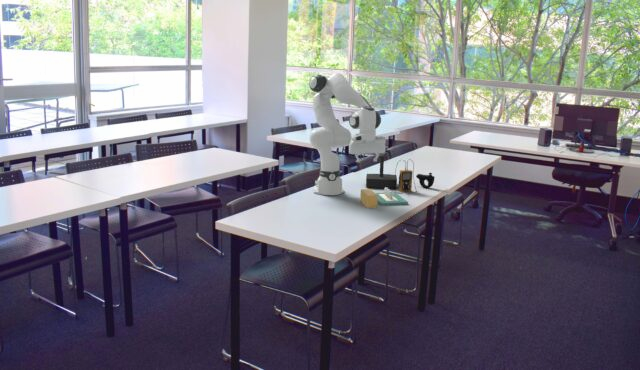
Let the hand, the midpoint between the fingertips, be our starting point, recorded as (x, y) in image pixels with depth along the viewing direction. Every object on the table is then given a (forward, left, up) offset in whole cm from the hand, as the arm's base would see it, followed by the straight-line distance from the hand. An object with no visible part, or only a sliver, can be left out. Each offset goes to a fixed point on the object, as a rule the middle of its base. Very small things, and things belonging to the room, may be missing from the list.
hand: (367, 161), depth 315 cm
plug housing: (-1, +2, -25) cm, 25 cm away
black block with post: (-42, +23, -25) cm, 54 cm away
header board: (-8, +16, -25) cm, 31 cm away
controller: (-33, +49, -25) cm, 64 cm away
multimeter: (-22, +33, -25) cm, 47 cm away
